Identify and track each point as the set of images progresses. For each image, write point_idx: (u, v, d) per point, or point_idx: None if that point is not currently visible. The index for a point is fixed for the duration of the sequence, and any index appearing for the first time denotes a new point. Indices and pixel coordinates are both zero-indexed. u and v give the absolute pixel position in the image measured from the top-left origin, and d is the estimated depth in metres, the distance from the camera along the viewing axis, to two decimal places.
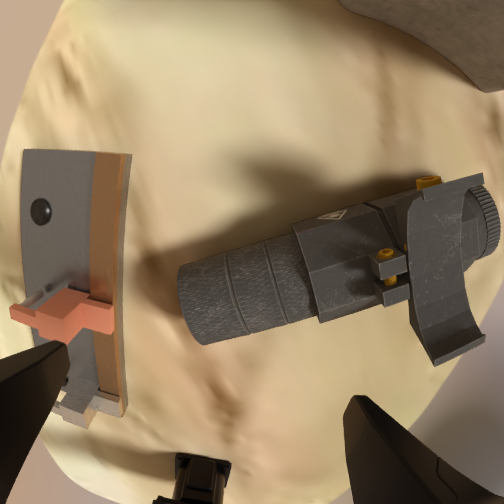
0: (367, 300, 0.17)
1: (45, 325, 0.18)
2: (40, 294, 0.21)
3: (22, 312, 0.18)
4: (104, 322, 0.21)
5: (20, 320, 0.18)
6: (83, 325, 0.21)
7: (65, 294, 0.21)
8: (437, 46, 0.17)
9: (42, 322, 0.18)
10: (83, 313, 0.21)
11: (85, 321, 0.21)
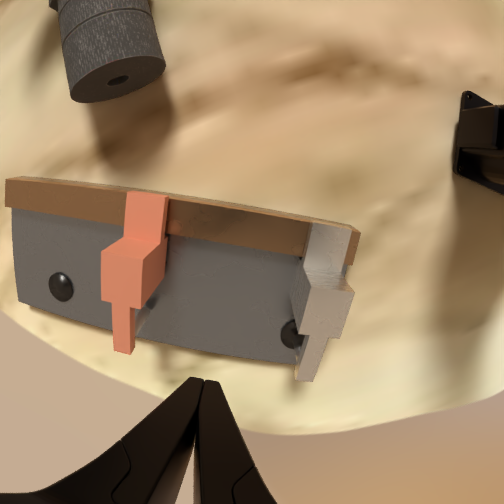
0: None
1: (118, 288, 0.14)
2: (140, 310, 0.18)
3: (113, 327, 0.15)
4: (146, 203, 0.16)
5: (126, 337, 0.15)
6: (156, 241, 0.16)
7: None
8: None
9: (115, 293, 0.14)
10: (137, 237, 0.16)
11: (149, 236, 0.16)
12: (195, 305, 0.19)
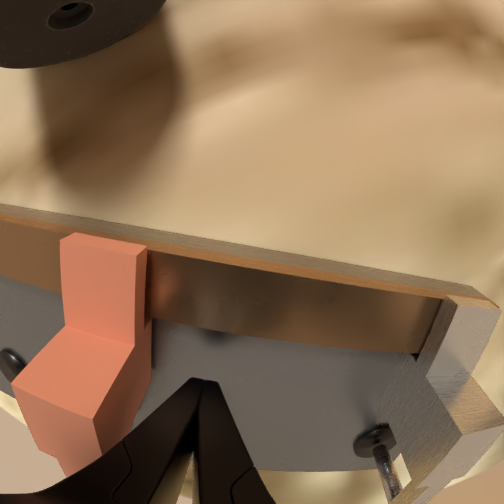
0: None
1: (61, 446, 0.05)
2: None
3: None
4: (99, 266, 0.07)
5: None
6: (127, 341, 0.07)
7: None
8: None
9: (58, 449, 0.05)
10: (90, 329, 0.07)
11: (112, 330, 0.07)
12: None
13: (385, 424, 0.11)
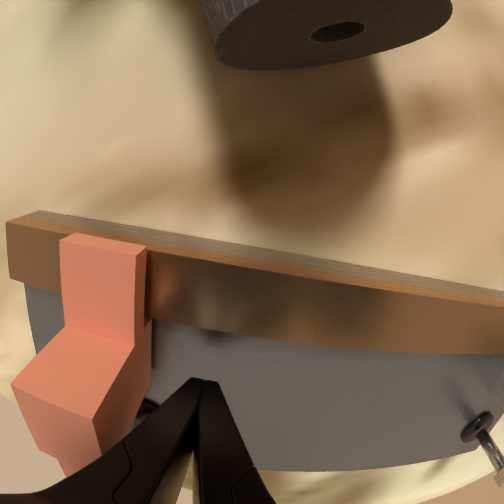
0: None
1: (61, 446, 0.05)
2: None
3: None
4: (98, 267, 0.07)
5: None
6: (127, 342, 0.07)
7: None
8: None
9: (58, 449, 0.05)
10: (90, 329, 0.07)
11: (112, 331, 0.07)
12: (387, 428, 0.11)
13: (486, 412, 0.11)
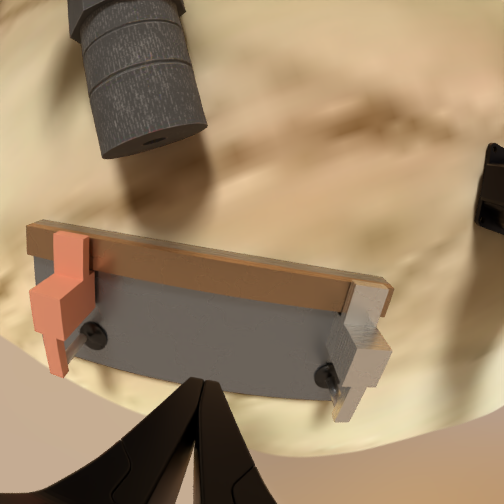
0: None
1: (45, 322, 0.14)
2: (77, 336, 0.18)
3: (47, 354, 0.15)
4: (69, 244, 0.16)
5: (58, 363, 0.15)
6: (80, 278, 0.16)
7: None
8: None
9: (44, 326, 0.14)
10: (65, 273, 0.16)
11: (74, 273, 0.16)
12: (236, 355, 0.20)
13: (332, 362, 0.20)
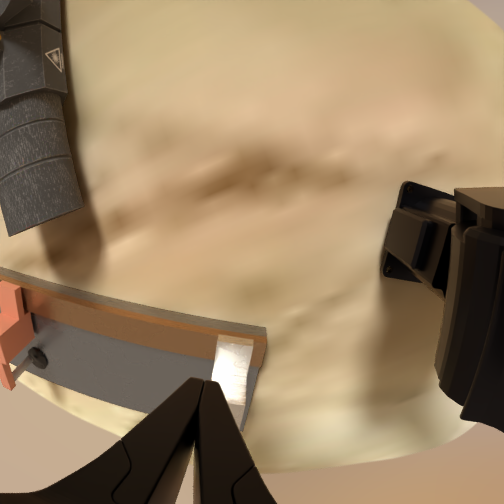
0: (12, 53, 0.11)
1: None
2: (25, 358, 0.20)
3: None
4: (6, 293, 0.18)
5: (6, 379, 0.17)
6: (17, 318, 0.18)
7: None
8: None
9: None
10: (7, 313, 0.18)
11: (13, 314, 0.18)
12: (138, 383, 0.22)
13: None
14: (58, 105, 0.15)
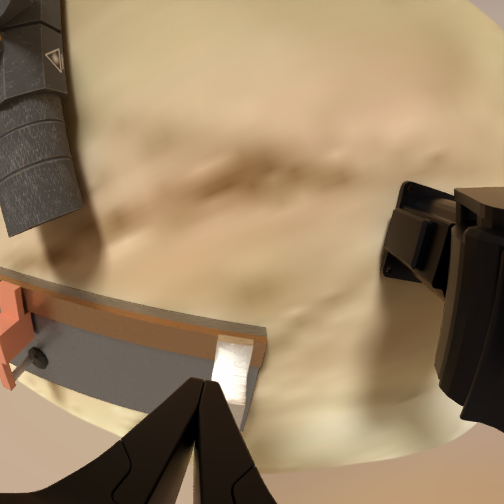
0: (12, 54, 0.11)
1: None
2: (25, 358, 0.20)
3: None
4: (6, 293, 0.18)
5: (6, 379, 0.17)
6: (17, 318, 0.18)
7: None
8: None
9: None
10: (7, 313, 0.18)
11: (13, 314, 0.18)
12: (138, 383, 0.22)
13: None
14: (58, 106, 0.15)
